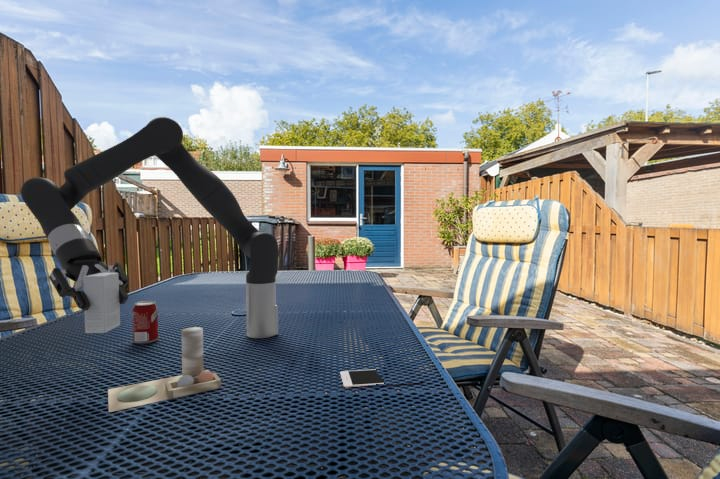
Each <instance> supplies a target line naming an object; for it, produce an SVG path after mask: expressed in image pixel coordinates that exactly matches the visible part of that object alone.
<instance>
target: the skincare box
mask: <svg viewBox="0 0 720 479" xmlns="http://www.w3.org/2000/svg"><path fill="white" fill-rule="evenodd" d="M82 289H83V291H84V293H85V295H86V296H87V298H88V300H89V302H90V304H91V305H90V307H89V309H88V310H86V311H83V312H84V313H83V314H84V332H85V334H102V333H103V334H105V333H107V332H109V331H111V330H113V329H115V328H118V327H119V326H120V325H121V311H120V305H121V304H120V303H119V276H118V273H97V274H93V275H88V276H84V277H83V286H82Z"/></svg>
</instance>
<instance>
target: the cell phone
mask: <svg viewBox="0 0 720 479" xmlns="http://www.w3.org/2000/svg"><path fill="white" fill-rule="evenodd" d="M376 369H377V368H374V369H371V368H370V369H358V370H357V369H356V370H355V369H354V370H343V371H342V370H341V371H340V372H339V376H340V375H341V376H340V380H341V379H342V380H341V382H343V384H342V387H343V386H344V387H345V388H344V387H343V388H344V389H350V388H349V387H360V386H368V385H376V384H384V380H383V379H381V378H382V376H378V375H379V374H377V373H376V372H377V370H376Z"/></svg>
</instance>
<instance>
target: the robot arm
mask: <svg viewBox="0 0 720 479" xmlns="http://www.w3.org/2000/svg"><path fill="white" fill-rule="evenodd" d="M183 139H184V132H183V128H182V127H181V125H180V124H179V123H178V121H176V120H175V119H172V118H170V117H166V116H159V117H155V118H153V119H151V120H150V121H149V122H148V123H147V124H146V125H144V127H142V128H141V129H140V130H139V131H137V132H136V133H134V134H133V135H131V136H130V137H128V138H126V139H125V140H123V141H121V142H120V143H118V144H116V145H113V146H111V147H109V148H107V149H105V150H103V151H101V152H99V153H97V154H94V155H92V156H90V157H88V158H86V159H84V160H82V161H80V162H78V163H76V164H74V165H72V166H70V167H69V168H67V169H65V171H63V176H64V180H65V182H64V183H63V184H62V185H61V186H60V187H58V185H57V184H56V183H55V182H54V181H53V180H50V179H49V178H47V177H46V178H45V177H42V176H41V177H40V176H38V177H36V176H35V177H32V178H29V179H28V180H26V181H24V182H23V184H22V186H21V188H20V196H21V198H22V200H23V203H24V204H25V205H26V207H27V208H28V209H29V210H30V212H31V213H32V215H33V216H34V218H36V219H37V221H38V223H39V225H40V227H41V229H42V231H43V233H44V235H45V237H46V239H47V241H48V243H49V246H50V248H51V250H52V252H53V255H54V257H55V258H56V260H57V262H58V263H59V265H60V267H61V269H60V268H58V267H54V268H53V269H52V271H51V273H50V275H49V276H48V278H49V280H50V282H51V283H52V285H53V287H54V289H55V291H56V292H57V294H58V296H59V297H61V298H66V297H70V298H72V299H73V301H74V303H75V304H76V306H77V308H78V309H79V310H82V311H83V312H84V311H86V310H88V309H89V307H90V305H91V304H90V302H89V300H88V298H87V296H86V295H85V293H84V290H82V289H83V277H84V276H88V275H93V274H97V273H118V276H119V305H124V304H126V303H127V301H128V299H129V294H128V292H127V291H126V289H125V288H126V286H127V285H128V283H129V282H130V278H129V276H128V275H127V274H126V272H125V269H124V268H123V267H122V264H121V263H119V262H115V263H114V264H111V265H108V264H106V263H105V262H104V261H103V259H102V254H101V253H100V251H99V250H98V248H97V246H96V244H95V243H94V241H93V240H92V238H91V236H90V235H89V233H88V232H87V231H86V230H85V228H84V227H83V225H82V224H81V222H80V220H79V219H78V217H77V215H76V214H75V213H74V212H73V210H72V209H73V208H75V206H77V205H78V204H79V203H80V202H81V201H82V200H83V199H84V198H85V197H86V196H87V195H88V194H90V193H92V192H93V191H94V190H96V189H99V188H100V187H102V186H104V185H106V184H107V183H110V182H111V181H112V180H115V179H116V178H117V177H119V176H120V175H122V174H124V173H125V172H126V171H127V170H130V169H131V168H132V167H134V166H136V165H138V164H139V163H141V162H143V161H145V160H147V159H149V158H151V157H153V156H155V157H157V158H158V160H160V161H161V162H162V163H163V164H164V165H165V166H167V168H168V169H169V170H171V171H172V172H173V173H174V175H176V177H177V178H178V179H179V181H180V182H181V183H182V184H183V185H184V186H185V188H186V189H187V190H188V191H189V192H190V194H191V195H192V197H194V198H195V199H196V201H197V202H198V203H199V204H200V205H201V207H203V209H204V210H206V211H207V213H208V214H209V215H211V216H212V218H214V220H215V221H216V222H217V223H218V224H219V225H220V226H222V227H223V229H225V230H226V231H227V232H228V233H229V235H230V236H231V237H232V238H233V240H234V241H235V243H236V244H237V245H238V247H239V248H240V250H241V251H242V252H243V254H245V256H246V257H248V258H249V270H248V272H247V273H246V275H245V292H246V297H245V299H246V304H245V305H246V306H245V307H246V308H245V309H246V312H245V313H246V337H248V338H251V339H265V338H271V337H274V336H276V335H279V306H278V304H277V301H276V300H277V297H276V295H277V294H276V293H277V292H276V290H277V289H276V287H277V286H276V284H277V281H276V277H277V274H278V270H279V245H278V244H279V242H278V241H277V239H276V237H275V236H274V235H273V234H272V233H269V232H262V231H260V230H258V229H257V227H255V225H253V224H252V222H251V221H250V220H248V218H247V216H245V214H244V212H243V210H242V208H241V206H240V203H239V202H238V199H237V198H236V197H235V195H234V193H233V192H232V191H231V190H230V188H228V186H227V185H226V184H225V183H224V181H222V179H220V177H219V176H218V175H216V174H215V173H214V172H212V170H210V169H209V168H207V167H206V166H205V165H203V164H202V163H200V162H199V161H198V160H196V159H195V158H194V156H192V154H191V153H190V152H189V150H188V149H187V147H185V146H184V144H183V143H182V142H183ZM66 278H68V279H69V280H72V281H73V285H72V287H71V286H70V284H69V282H68V281H67V279H66Z"/></svg>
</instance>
